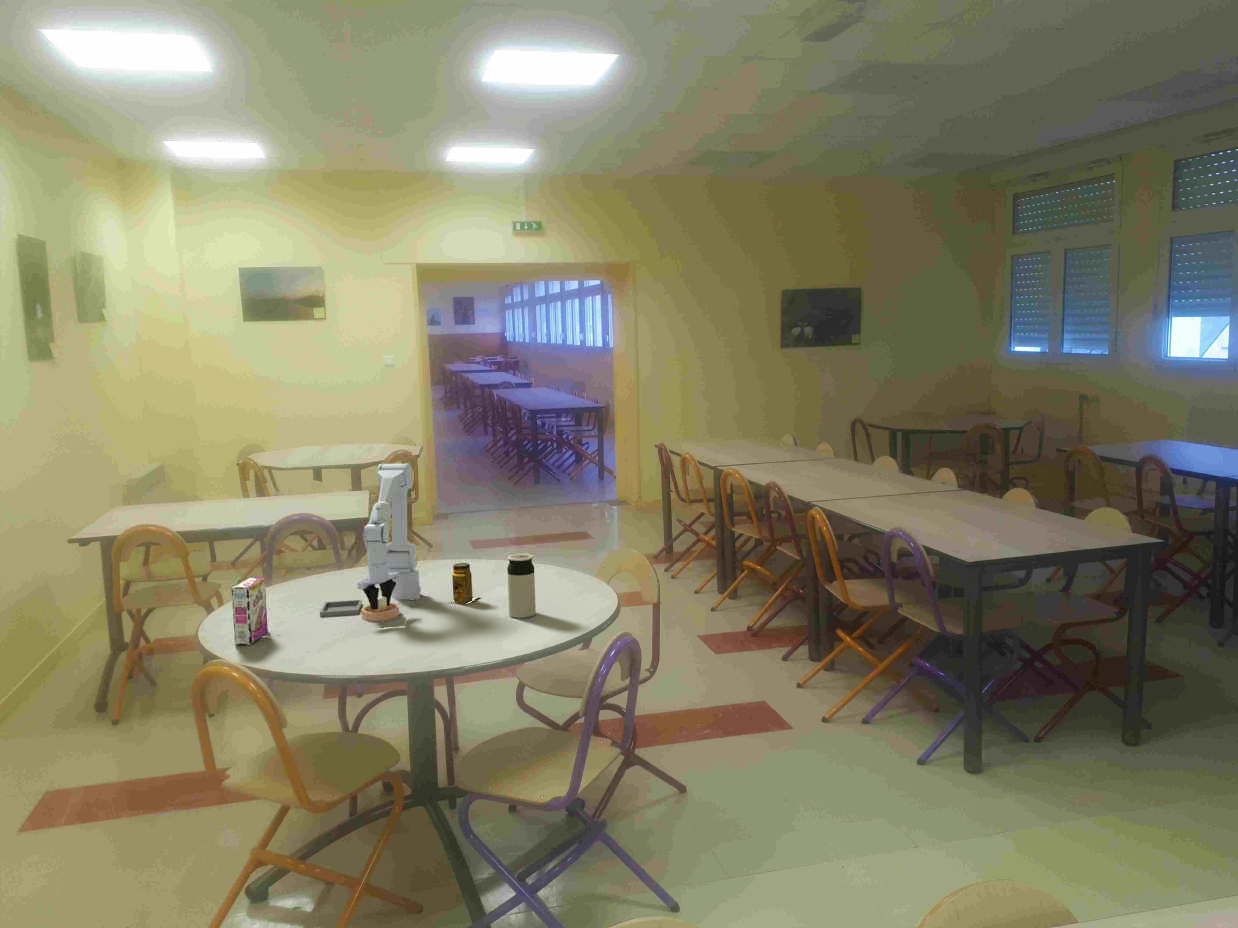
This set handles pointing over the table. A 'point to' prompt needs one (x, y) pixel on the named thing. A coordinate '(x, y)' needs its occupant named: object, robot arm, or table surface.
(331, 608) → the tray
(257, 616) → the candy bar box
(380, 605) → the cream round lump
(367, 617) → the bowl
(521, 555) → the travel mug
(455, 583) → the condiment
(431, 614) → the table surface
